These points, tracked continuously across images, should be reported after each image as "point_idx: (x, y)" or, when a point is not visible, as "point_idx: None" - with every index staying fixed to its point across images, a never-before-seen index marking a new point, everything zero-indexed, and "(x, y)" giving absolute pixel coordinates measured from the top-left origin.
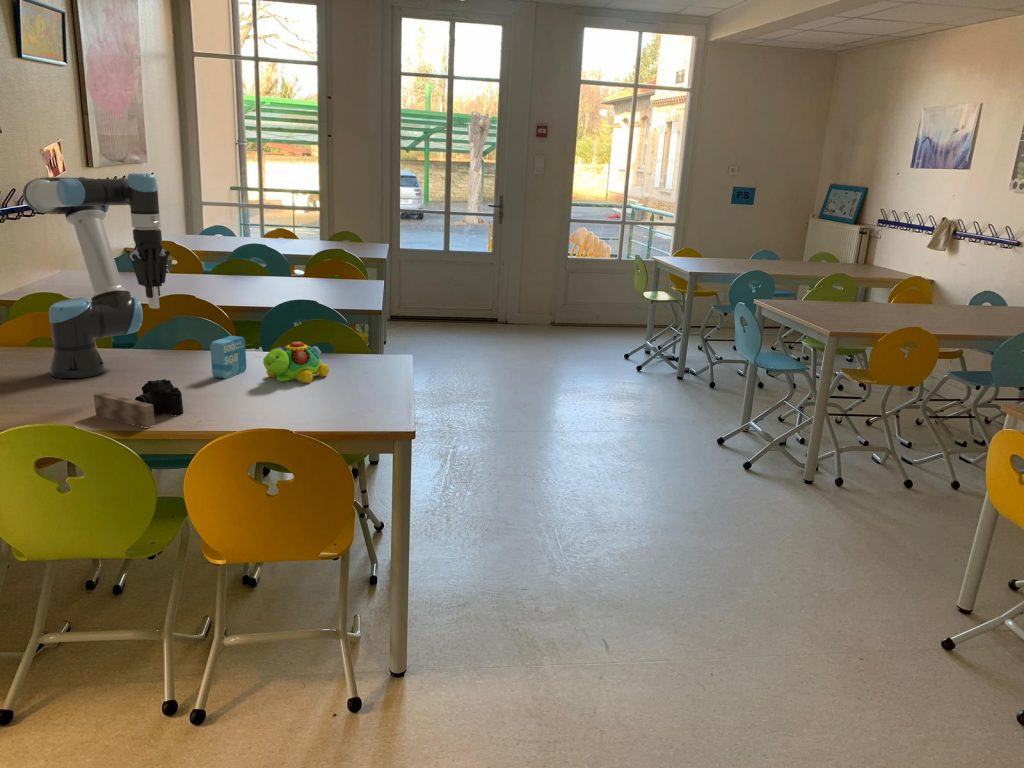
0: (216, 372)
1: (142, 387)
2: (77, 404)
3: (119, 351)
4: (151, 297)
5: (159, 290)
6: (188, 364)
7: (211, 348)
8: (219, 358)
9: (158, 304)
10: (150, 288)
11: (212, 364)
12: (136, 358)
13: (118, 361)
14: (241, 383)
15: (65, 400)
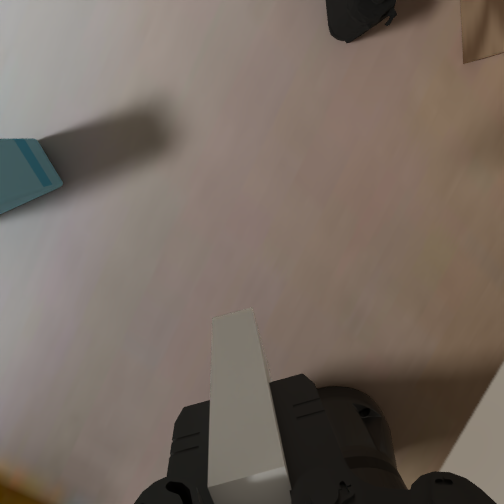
0: (48, 167)
1: (394, 12)
2: (462, 188)
3: None
4: (287, 379)
5: (172, 464)
6: (74, 362)
7: (7, 192)
8: (7, 153)
9: (220, 332)
10: (314, 466)
11: (44, 184)
12: None
13: None
14: (4, 53)
15: (460, 240)
